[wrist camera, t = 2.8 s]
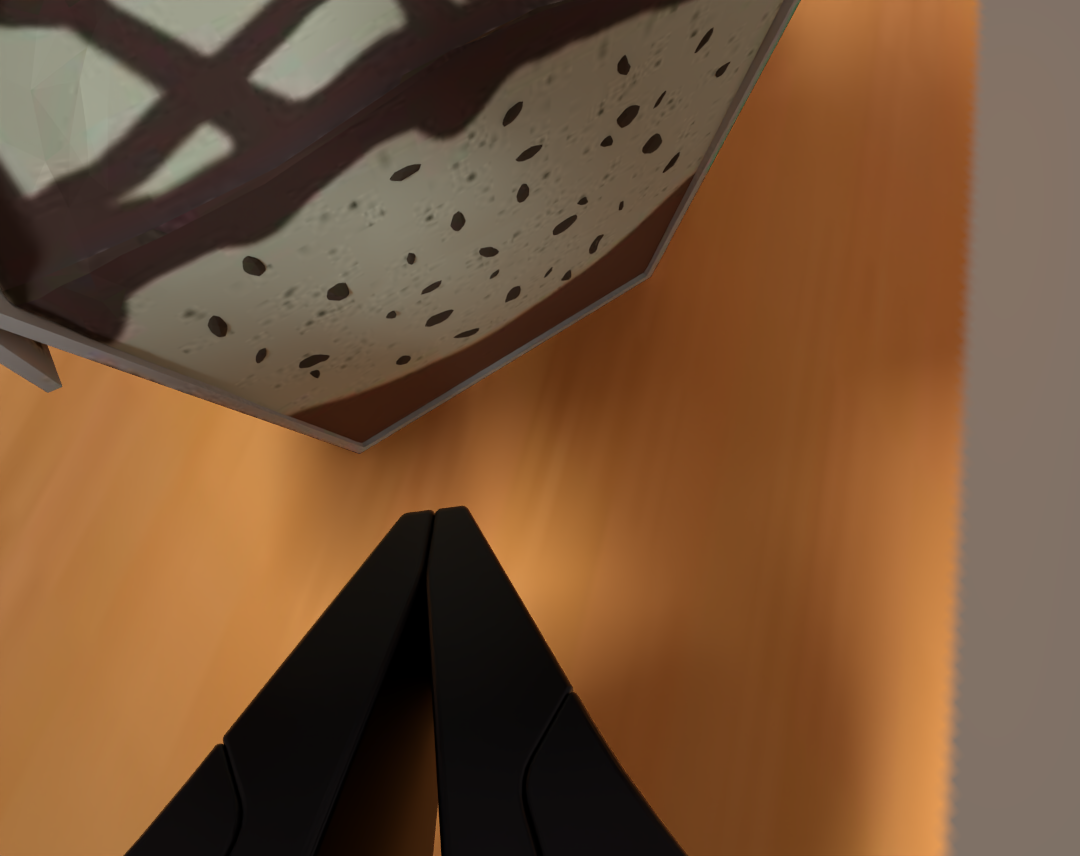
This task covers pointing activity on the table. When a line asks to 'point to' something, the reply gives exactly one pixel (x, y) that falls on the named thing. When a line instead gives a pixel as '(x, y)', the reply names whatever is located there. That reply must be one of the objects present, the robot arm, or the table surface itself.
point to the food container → (347, 186)
